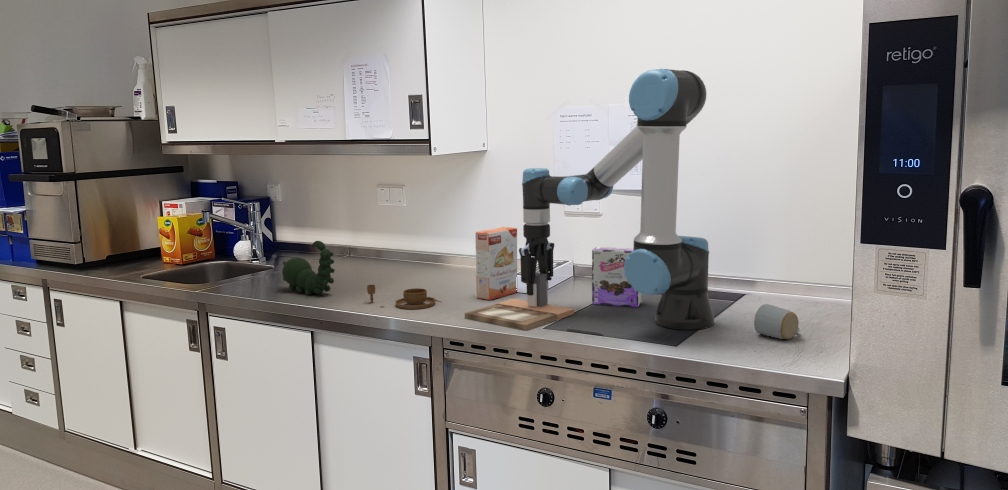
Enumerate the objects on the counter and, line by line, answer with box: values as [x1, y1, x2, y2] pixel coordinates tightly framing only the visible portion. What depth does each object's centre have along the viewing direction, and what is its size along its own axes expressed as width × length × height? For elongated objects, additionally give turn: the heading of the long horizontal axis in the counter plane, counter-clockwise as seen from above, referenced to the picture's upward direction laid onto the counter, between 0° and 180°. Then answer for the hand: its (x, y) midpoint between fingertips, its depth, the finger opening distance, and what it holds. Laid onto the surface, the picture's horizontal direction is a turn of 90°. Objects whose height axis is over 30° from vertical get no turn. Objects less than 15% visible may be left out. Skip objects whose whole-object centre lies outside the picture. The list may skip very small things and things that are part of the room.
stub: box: [497, 272, 575, 320], centre depth 216 cm, size 22×7×10 cm, turn 49°
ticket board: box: [464, 303, 557, 331], centre depth 209 cm, size 22×13×2 cm, turn 49°
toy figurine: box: [281, 240, 336, 296], centre depth 248 cm, size 9×19×25 cm
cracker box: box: [475, 226, 518, 301], centre depth 236 cm, size 14×6×21 cm, turn 141°
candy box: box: [591, 246, 643, 308], centre depth 222 cm, size 14×6×16 cm, turn 68°
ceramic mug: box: [753, 303, 800, 340], centre depth 186 cm, size 11×8×8 cm
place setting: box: [366, 284, 442, 310], centre depth 231 cm, size 18×20×6 cm
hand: (537, 304), depth 218 cm, fingers closed on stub, 4 cm apart
